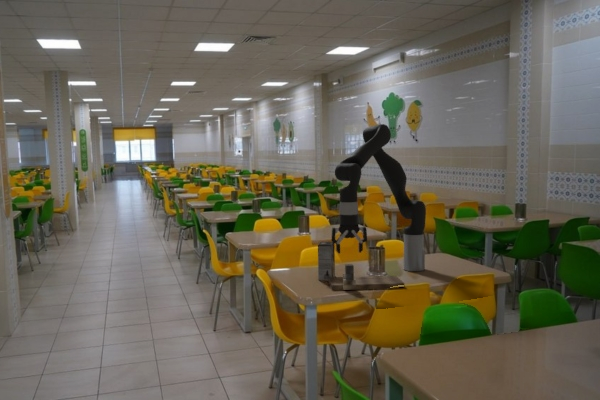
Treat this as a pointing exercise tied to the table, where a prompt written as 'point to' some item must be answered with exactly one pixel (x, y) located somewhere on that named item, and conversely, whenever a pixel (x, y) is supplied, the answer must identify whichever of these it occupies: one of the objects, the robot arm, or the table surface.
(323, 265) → the coffee box
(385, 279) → the board
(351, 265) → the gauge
